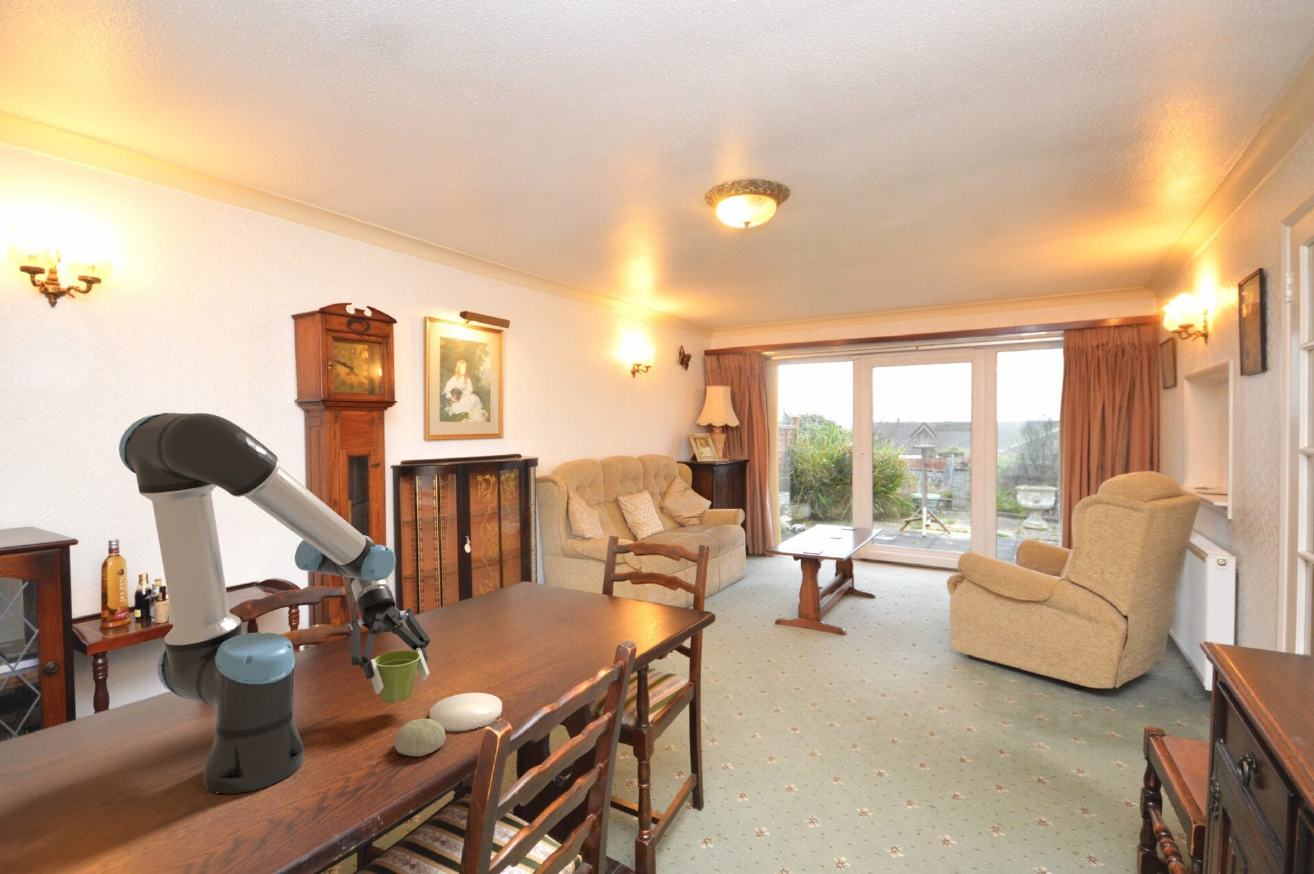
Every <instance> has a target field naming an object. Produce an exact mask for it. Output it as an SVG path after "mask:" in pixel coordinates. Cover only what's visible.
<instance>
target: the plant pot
mask: <svg viewBox="0 0 1314 874" xmlns="http://www.w3.org/2000/svg"><path fill="white" fill-rule="evenodd" d="M420 656H421V655H420V654H419V653H418V652H415V651H414V650H395V651H394V650H393V651H389V652H386V653H382V654H380V655H378V656H376V657H375V658H374V659H375V661H376V665H377V667H378V670H379V674H380V677H381V680H382V683H383V686H384V687H383V689H382V690H381V692H380V693H379V694H380V699H381V700H382V702H383V703H387V704H395V703H397V702H404V701H407V700H409V699H410V698H411V697H413V696H412V695H413V689H414V684H415V683H414V682H415V675H416V671H417V664H418V660H419V659H420Z"/></svg>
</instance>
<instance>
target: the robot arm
mask: <svg viewBox="0 0 1314 874" xmlns="http://www.w3.org/2000/svg"><path fill="white" fill-rule="evenodd" d="M118 451H119V453H118V455H119V457H120V460H121V462H122V463H123V465H124V466H125V468H127V469H128V470H129V471H130V472H131V473H133V474H135V476H136V482H137V483H136V484H137V488H138V494H139V495H141V496H143V497H145V498H147V499H148V500H150V501H151V502H152V506H153V507H152V508H153V514H154V520H155V526H156V527H155V528H156V533H157V537H158V543H159V549H160V556H161V561H162V566H163V573H164V579H165V586H166V591H167V597H168V601H169V602H168V603H169V608H170V615H171V621H172V628H171V629H170V630H169V632H168V633H167V634H166V635H165V637H164V644H165V645H164V646H165V647H164V650H163V652H162V653H160V656H159V657H158V660H157V666H156V667H157V668H156V670H157V676H158V679H159V681H160V683H161V684H162V685H163V687H164V688H165V689H167V690H168V691H170V692H171V693H173V694H174V695H176V696H178V697H180V698H184V699H187V700H192V701H196V702H200V703H203V704H206V705H208V706H211V707H215V709H216V710H215V714H216V715H215V723H216V724H215V725H216V727H215V739H214V741H213V744H212V746H211V749H210V752H209V755H208V756H207V759H206V762H205V765H204V767H203V776H202V777H203V778H202V779H203V780H202V781H203V783H204V784H203V783H202V784H203V787H204V786H205V787H204V788H205V789H206V788H207V789H208V790H210V791H212V792H211V793H213V792H218V793H221V794H220V795H235V794H242V793H243V792H244V793H248V792H252V791H256V790H260V789H264V788H267V787H269V786H272V785H274V784H277V783H278V782H281V781H283V780H285V779H286V778H288V777H290V776H292V775H293V774H294V773H296V772H297V770H298V769H300V767H301V766H302V764H303V763H304V759H305V747H304V744H303V740H302V739H301V736H300V733H299V731H298V729H297V725H296V723H295V720H294V684H295V683H294V682H295V681H294V680H295V678H294V677H295V676H294V672H295V671H294V670H295V665H296V659H295V654H294V645H293V643H292V642H291V640H290V639H289V638H287V637H286V636H285V635H282V634H279V633H275V632H265V633H262V632H259V631H258V632H247V633H243V632H244V631H243V626H242V619H241V618H240V617H239V616H238V615H235V614H233V613H231V611H230V608H229V607H230V606H229V600H228V592H227V587H226V581H225V580H226V579H225V575H224V574H225V573H224V567H223V560H222V554H221V547H220V542H219V535H218V527H217V522H216V514H215V509H214V502H213V496H212V491H213V490H215V488H216V487H218V488H221V489H222V490H224V491H225V492H227V493H229V494H230V495H231V496H233V497H237V498H239V497H245V498H246V499H247V500H248V501H250V502H252V503H253V504H254V505H256V506H257V507H258V508H260V509H261V510H263V511H264V512H265V513H267V514H268V515H270V516H271V517H272V518H274V519H275V520H276V521H278V522H279V523H280V524H282V525H283V526H285V528H287V529H288V530H290V531H291V532H292V533H294V534H295V535H297V536H298V537H299V538H301V539H302V540H301V542H300V543H299V544H298V545H297V547H296V551H295V554H294V564H295V565H296V567H297V568H298V569H299V570H301V571H305V572H309V573H318V574H325V575H331V576H338V577H346V578H347V579H348V581H349V584H350V587H351V590H352V594H353V596H354V599H355V602H356V605H357V609H358V612H359V615H360V617H361V618H352V619H351V620H350V622H349V624H348V626H347V629H348V630H349V633H350V646H351V647H350V650H351V651H350V664H351V666H353V667H355V666H359V667H360V669H363V673H364V676H365V678H366V680H370V679H371V684H372V686H373V689H374V693H375V695H379V694H381V693H380V692H381V690H382V689H383V687H384V686H383V683H382V680H381V677H380V674H379V670H378V667H377V665H376V661H375V658H373V659H371V657H372V653H373V651H374V645H375V640H376V638H377V635H380V634H383V633H390V632H391V633H392V634H393V635H396V636H397V637H399V639H401V640H402V641H403V642H404V643H405V644H406V645H407V646H408V647H409V648H410V649H412V651H415V652H418V653H419V654H420V655H421V656H420V659H419V660H418V664H417V666H416V669H417V670H418V674H419V676H420V677H419V678H420V680H421V681H423V682H424V681H426V680H427V678H428V677H429V675H430V670H429V668H428V665H427V662H429V659H428V658H429V657H428V655H427V652H426V650H425V649H427V647H428V646H429V644H430V642H431V638H430V637H429V636H428V634H427V633H426V631H425V630H424V628H423V627H422V626H421V624H420V623H419V621H418V620H417V619H416V617H415V614H414V612H413V609H412V608H411V607H407V609H406V610H400V609H398V607H397V606H396V601H395V599H394V598H395V597H394V595H393V593H392V590H391V589H390V588H391V587H390V584H389V582H388V579H387V578H389V577H390V576H391V574H392V573H393V572H394V569H395V567H396V561H397V560H396V559H397V558H396V555H395V551H393V549H391V547H389V546H385V545H383V544H376V543H374V542H373V540H372V538H371V537H370V536H368V535H364V534H363V533H361V532H360V531H359V530H357V529H356V528H355V527H354V526H353V525H352V524H350V523H349V522H348V521H347V520H346V519H344V518H343V517H342V516H340V515H339V514H338V513H337V512H336V511H334V510H333V509H332V508H331V507H330V506H329V505H327V504H326V503H325V502H323V500H321V499H320V498H319V497H318V496H316V495H315V494H314V493H313V492H311V491H310V490H309V489H308V488H307V487H305V485H303V484H302V483H301V482H299V481H298V480H297V479H296V478H295V477H293V476H292V475H291V474H290V473H289V472H288V471H286V470H285V469H284V468H282V467H281V466H280V465H279V457H278V456H277V455H276V453H274V452H273V451H272V450H270V449H269V448H268V447H267V446H266V445H264V444H263V443H262V442H260V441H259V440H258V439H257V438H255V437H254V436H253V435H252V434H250V433H249V432H248V431H246V430H245V429H243V428H242V427H240V426H239V425H237V424H236V423H234V422H233V421H231V420H228V419H227V418H225V417H222V416H219V415H216V414H212V413H202V412H199V413H198V412H197V413H196V412H195V413H184V412H183V413H182V412H181V413H180V412H179V413H178V412H162V413H157V414H152V415H151V414H150V415H148V416H144V417H141V418H140V419H137V420H136V421H134V422H133V423H132V424H131V425H130V426H129V427H128V428H127V429H125V431H124V433H123V434H122V436H121V438H120V441H119V444H118ZM399 618H401V619H402V621H403V622H404V623H405V625H406V626H407V627H406V626H405V625H404V623H403V622H402V621H401V619H399ZM362 626H363V627H365V628H366V629H368V634H367V639H366V642H365V646H364V650H363V655H362V651H361V649H362V647H361V643H362V642H361V638H362V637H361V628H362ZM207 789H206V790H207ZM208 790H207V791H208ZM210 791H209V792H210ZM241 792H242V793H241ZM218 793H217V794H218ZM222 793H223V794H222Z"/></svg>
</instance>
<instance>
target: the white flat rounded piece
mask: <svg viewBox="0 0 1314 874" xmlns="http://www.w3.org/2000/svg"><path fill="white" fill-rule="evenodd" d="M429 710H430V711H429V719H432V720H435V721H437V722H438V723H439V724H440V725H441V726H442V727H443V728H444V730H445V732H464V731H465V732H466V731H467V730H468V731H471V730H470V729H473V730H476V729H475V728H477V729H479V728H478V727H481V728H483V726H484V727H486V726H488V725H491V724H493V723H494V722H496V721H497V720H498V719H495V718H497V717H499V716H500V717H501V715H502V713H503V702H502V700H501V699H500V698H499V697H498V696H496V695H493V694H490V693H485V692H466V693H459V694H455V695H452V696H447V697H446V698H443V699H441V700H439V701H438V702H436V703H435V704H433V705H432V707H430V709H429ZM500 717H499V718H500ZM493 721H494V722H493ZM468 731H467V732H468Z"/></svg>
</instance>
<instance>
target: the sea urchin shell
mask: <svg viewBox="0 0 1314 874" xmlns="http://www.w3.org/2000/svg"><path fill="white" fill-rule="evenodd" d="M446 739H447V736H446V731H445V730H444V728H443V727H442V726H441V725H440V724H439V723H438V722H437V721H435V720H432V719H430V718H417V719H414V720H410V721H409V722H407V723H405V724H404V725H403V726H402V727H401V728H400V730H399V731H398V733H397V735H396V736H395V738H394V749H395V750H396V752H397V753H398V754H400V755H401V754H402V755H404V756H409V757H410V758H411V757H412V756H413V757H424V756H425V755H426V756H427V755H430V754H432V753H433V752H435V751H437V750H439V748H441V747H442V746H443V745H444V744H445V742H446ZM429 753H430V754H429Z"/></svg>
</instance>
